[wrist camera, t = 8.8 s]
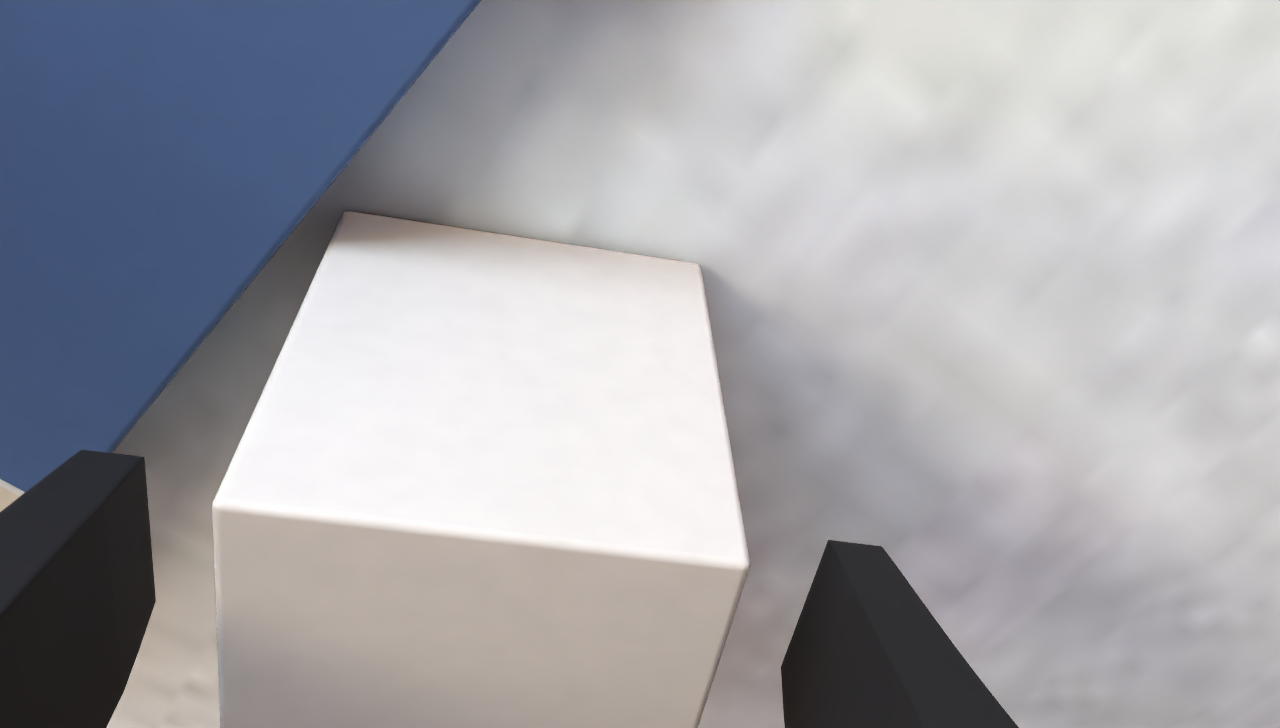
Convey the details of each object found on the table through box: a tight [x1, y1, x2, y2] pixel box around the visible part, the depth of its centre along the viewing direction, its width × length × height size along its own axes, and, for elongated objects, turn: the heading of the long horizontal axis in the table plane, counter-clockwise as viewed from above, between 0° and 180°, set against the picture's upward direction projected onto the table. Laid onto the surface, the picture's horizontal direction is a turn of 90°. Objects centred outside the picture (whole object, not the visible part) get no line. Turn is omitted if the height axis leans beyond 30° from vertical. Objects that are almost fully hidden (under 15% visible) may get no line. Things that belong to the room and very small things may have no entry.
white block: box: [212, 211, 750, 728], centre depth 13 cm, size 4×4×6 cm
